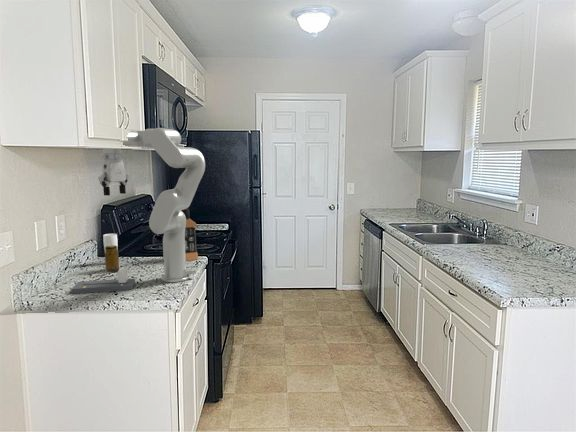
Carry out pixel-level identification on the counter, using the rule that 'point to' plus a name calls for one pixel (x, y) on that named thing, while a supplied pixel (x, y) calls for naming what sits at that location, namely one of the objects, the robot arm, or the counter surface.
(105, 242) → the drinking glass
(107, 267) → the condiment
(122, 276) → the fader knob
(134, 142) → the robot arm
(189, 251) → the whiskey bottle
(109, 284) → the fader panel
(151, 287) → the counter surface
